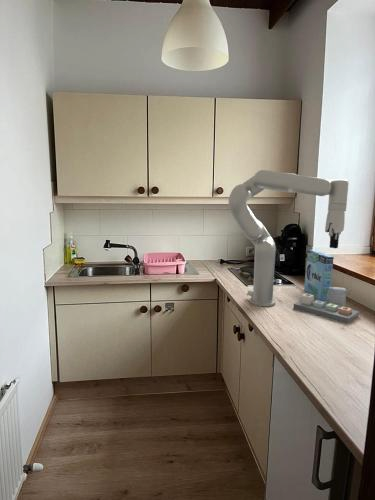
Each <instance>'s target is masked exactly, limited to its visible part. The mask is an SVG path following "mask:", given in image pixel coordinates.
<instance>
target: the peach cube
mask: <svg viewBox="0 0 375 500" xmlns="http://www.w3.org/2000/svg"><path fill="white" fill-rule="evenodd" d="M352 310H353V309H352V308H351V307H346V306H345V307H343V306H342V307H341V308H339V313H341V314H345V315H350V314H351V313H352Z"/></svg>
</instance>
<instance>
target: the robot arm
mask: <svg viewBox="0 0 375 500" xmlns="http://www.w3.org/2000/svg"><path fill="white" fill-rule="evenodd" d="M264 190H269V191H271V190H272V191H277V192H285V193H292V194H293V193H294V194H303V195H304V194H305V195H311V196H318V197H325V196H328V202H327V203H328V204H327V205H328V207H327V213H326V220H325V228H324V231H325V233H328V236H329V248H331V249H338V248H339V239H340V235H341V234H342V233H343V231H344V228H345V219H346V218H345V215H346V213H345V212H347V206H348V205H347V204H348V193H349V180H347V179H341V178H340V179H339V178H338V179H330V180H329V179H326V178H324V177H313V176H306V175H302V174H300V175H299V174H297V173H290V172H283V171H273V170H266V169H261V170H257V172H255V174H254V175H253V176H252V177H251V178H248V179H247V180H246V181H244V182H243V183H239V184H238V185H237V184H236V185H235V187H233V189H232V190H231V191H230V194H229V196H228V208H229V211H230V213H231V215H232V216H233V218H234V220H235V221H236V224H237V225H238V226H239V228H240V230H241V231H242V233H243V235H244V236H245V238H246V239H248V240H249V241H250V242H251V243H252V244H253V246H254V257H253V258H254V263H253V265H254V266H253V267H254V268H253V287H252V288H253V289H252V290H247V293H246V296H249V297H250V298H249V304H251V305H253V306H257V307H272V306H274V305H276V304H277V301H276V300H275V298H273V296H274V281H275V279H274V277H275V261H276V251H277V250H276V242H275V240H274V239H273V238H272V235H271V234H270V233H269V232H268V230H267V229H266V227H265V225H264V224H263V223H262V221H260V220H259V219H257V218H256V216H255V215H254V213H253V211H252V210H251V209H250V207H249V206H248V203H247V202H248V201H249V200H250V199H252V198H253V197H255V196H256V195H258V194H259V193H261V192H263V191H264Z"/></svg>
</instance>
